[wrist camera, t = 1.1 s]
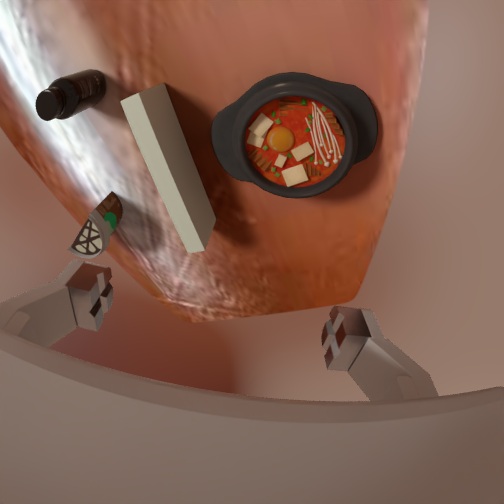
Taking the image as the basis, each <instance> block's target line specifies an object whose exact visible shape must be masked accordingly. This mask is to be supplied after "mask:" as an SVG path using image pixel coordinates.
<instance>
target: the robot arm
mask: <svg viewBox="0 0 504 504" xmlns="http://www.w3.org/2000/svg"><path fill="white" fill-rule="evenodd" d="M111 278H112V275H111V269H110V268H109V267H107V266H102V265H98V264H94V263H90V262H85V261H81V260H77V259H74V260H72V261H71V262H70V264H69V265H68V266H67V267H66V268H65V269H64V270H63V272H62V273H61V274H60V275H59V276H58V277H57V278H56V280H55V281H54V282H53V283H52V282H48V283H46V284H43V285H41V286H39V287H36V288H34V289H31V290H29V291H27V292H24V293H22V294H20V295H17V296H15V297H13V298H10V299H8V300H6V301H4V302H2V303H0V504H504V387H493V388H488V389H483V390H478V391H472V392H467V393H460V394H453V395H445V396H438V393H437V391H436V388H435V386H434V384H433V381H432V379H431V377H430V374H428V373H427V372H426V371H425V370H424V369H423V368H422V367H420V366H419V365H418V364H417V363H416V362H415V361H413V360H412V359H411V358H410V357H409V356H407V355H406V354H405V353H404V352H403V351H402V350H400V349H399V348H398V347H397V346H396V345H394V344H393V343H392V342H391V341H390V340H389V339H385V338H384V336H383V334H382V331H381V329H380V326H379V324H378V322H377V319H376V317H375V315H374V313H373V311H372V310H371V309H362V308H361V309H360V308H359V309H357V308H348V307H341V306H334V307H333V308H332V310H331V312H330V318H331V319H330V320H329V321H328V322H326V323H325V325H324V327H323V330H322V336H321V342H322V347H323V348H324V349H325V350H326V351H327V352H326V354H325V355H324V357H325V362H326V367H327V370H338V371H348V373H349V375H350V376H351V377H352V378H353V380H354V381H355V382H356V383H357V385H358V386H359V387H360V388H361V390H362V391H363V392H364V393H365V395H366V396H367V397H368V398H369V400H370V401H358V402H336V401H305V400H288V399H274V398H264V397H254V396H246V395H237V394H229V393H223V392H216V391H209V390H203V389H197V388H192V387H186V386H181V385H176V384H171V383H166V382H161V381H157V380H152V379H148V378H143V377H140V376H135V375H131V374H128V373H124V372H120V371H117V370H113V369H109V368H106V367H102V366H99V365H95V364H93V363H89V362H86V361H83V360H80V359H77V358H74V357H71V356H68V355H65V354H62V353H59V352H57V351H54V350H51V349H48V347H49V346H51V345H52V344H54V343H55V342H57V341H58V340H60V339H61V338H62V337H64V336H65V335H67V334H68V333H70V332H71V331H73V330H74V329H76V328H77V326H78V327H82V328H85V329H89V330H94V331H98V328H99V327H100V325H101V323H102V322H103V320H104V318H103V313H106V312H108V311H109V308H110V307H111V304H112V300H113V287H112V285H111V284H110V282H109V280H110V279H111Z"/></svg>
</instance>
